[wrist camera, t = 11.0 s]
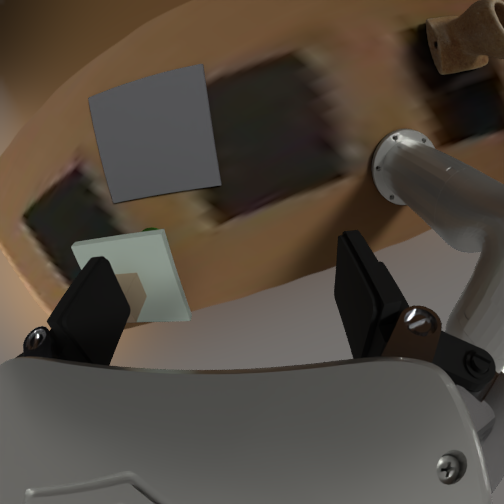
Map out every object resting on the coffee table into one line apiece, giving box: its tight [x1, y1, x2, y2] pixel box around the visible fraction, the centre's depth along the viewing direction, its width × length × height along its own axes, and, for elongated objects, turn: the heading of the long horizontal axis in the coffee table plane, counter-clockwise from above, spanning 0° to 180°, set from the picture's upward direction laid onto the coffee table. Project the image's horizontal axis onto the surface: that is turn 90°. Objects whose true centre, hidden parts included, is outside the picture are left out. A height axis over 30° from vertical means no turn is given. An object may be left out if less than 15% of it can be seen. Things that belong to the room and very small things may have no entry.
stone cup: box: [426, 0, 504, 75], centre depth 18 cm, size 15×12×15 cm
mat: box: [88, 64, 221, 203], centre depth 35 cm, size 18×18×1 cm
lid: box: [71, 229, 192, 323], centre depth 33 cm, size 14×14×6 cm
